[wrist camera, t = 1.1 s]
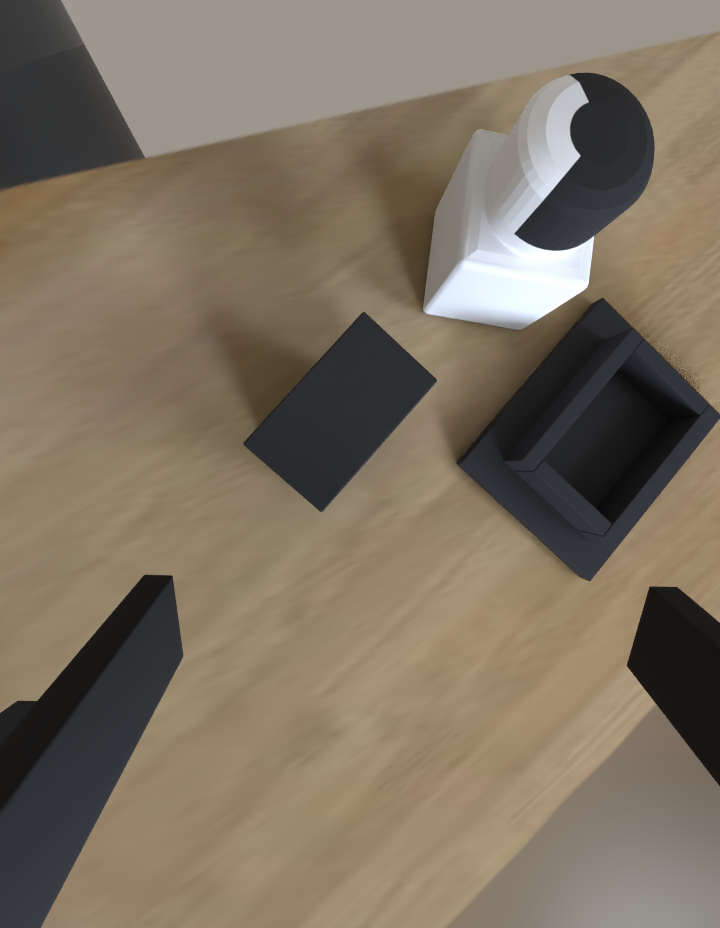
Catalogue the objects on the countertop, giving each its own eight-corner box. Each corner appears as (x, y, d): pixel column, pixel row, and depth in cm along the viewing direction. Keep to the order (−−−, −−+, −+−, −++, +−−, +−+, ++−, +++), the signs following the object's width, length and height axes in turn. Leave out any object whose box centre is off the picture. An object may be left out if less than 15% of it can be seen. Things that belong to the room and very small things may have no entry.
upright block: (269, 452, 27) (241, 443, 16) (342, 372, 27) (364, 310, 17) (317, 493, 27) (321, 512, 16) (387, 413, 28) (438, 380, 17)
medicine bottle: (534, 229, 29) (690, 66, 17) (522, 332, 29) (670, 239, 17) (434, 209, 28) (525, 22, 16) (420, 314, 28) (502, 203, 16)
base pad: (455, 463, 28) (476, 463, 25) (593, 302, 30) (630, 281, 26) (580, 577, 29) (617, 592, 26) (708, 418, 31) (759, 412, 27)
